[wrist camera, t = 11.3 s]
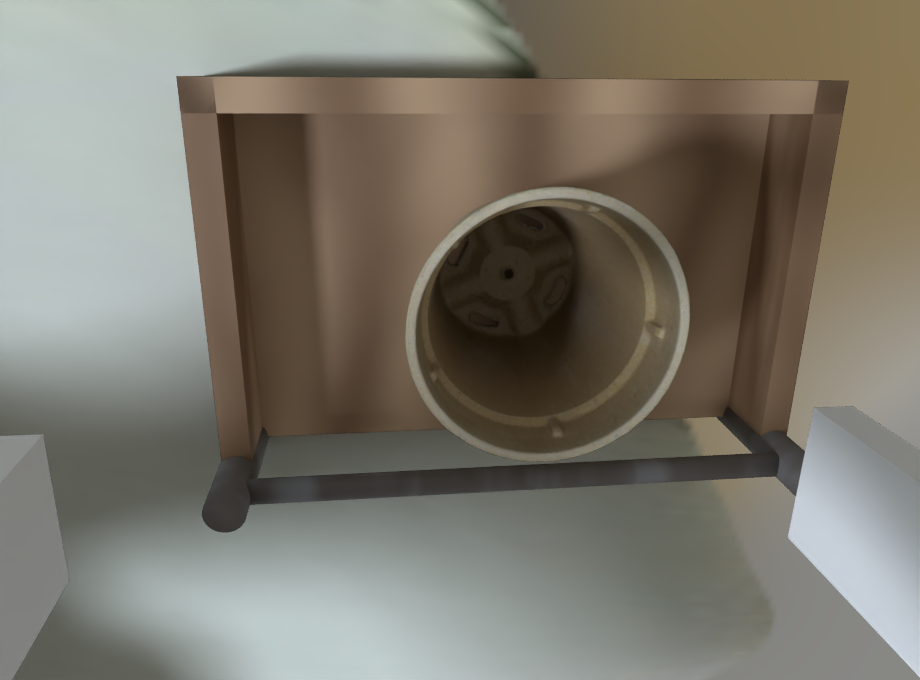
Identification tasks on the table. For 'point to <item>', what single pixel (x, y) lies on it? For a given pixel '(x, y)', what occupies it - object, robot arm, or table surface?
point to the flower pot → (548, 324)
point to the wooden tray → (431, 218)
